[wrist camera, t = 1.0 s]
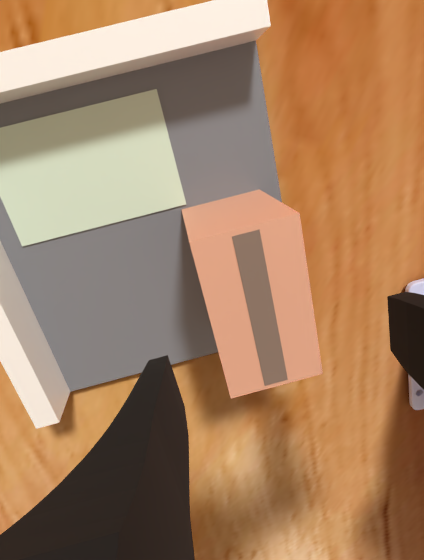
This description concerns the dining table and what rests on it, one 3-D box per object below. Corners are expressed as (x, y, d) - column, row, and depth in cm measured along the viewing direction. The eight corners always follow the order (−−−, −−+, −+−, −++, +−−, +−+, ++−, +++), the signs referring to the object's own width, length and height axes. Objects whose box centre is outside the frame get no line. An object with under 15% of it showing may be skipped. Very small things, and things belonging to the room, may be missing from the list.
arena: (298, 324, 23) (318, 352, 20) (52, 390, 22) (36, 428, 20) (247, 12, 17) (264, -13, 14) (-91, 95, 16) (-145, 87, 13)
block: (281, 311, 22) (323, 374, 16) (213, 329, 22) (230, 399, 16) (259, 189, 19) (299, 213, 13) (181, 209, 19) (189, 242, 13)
